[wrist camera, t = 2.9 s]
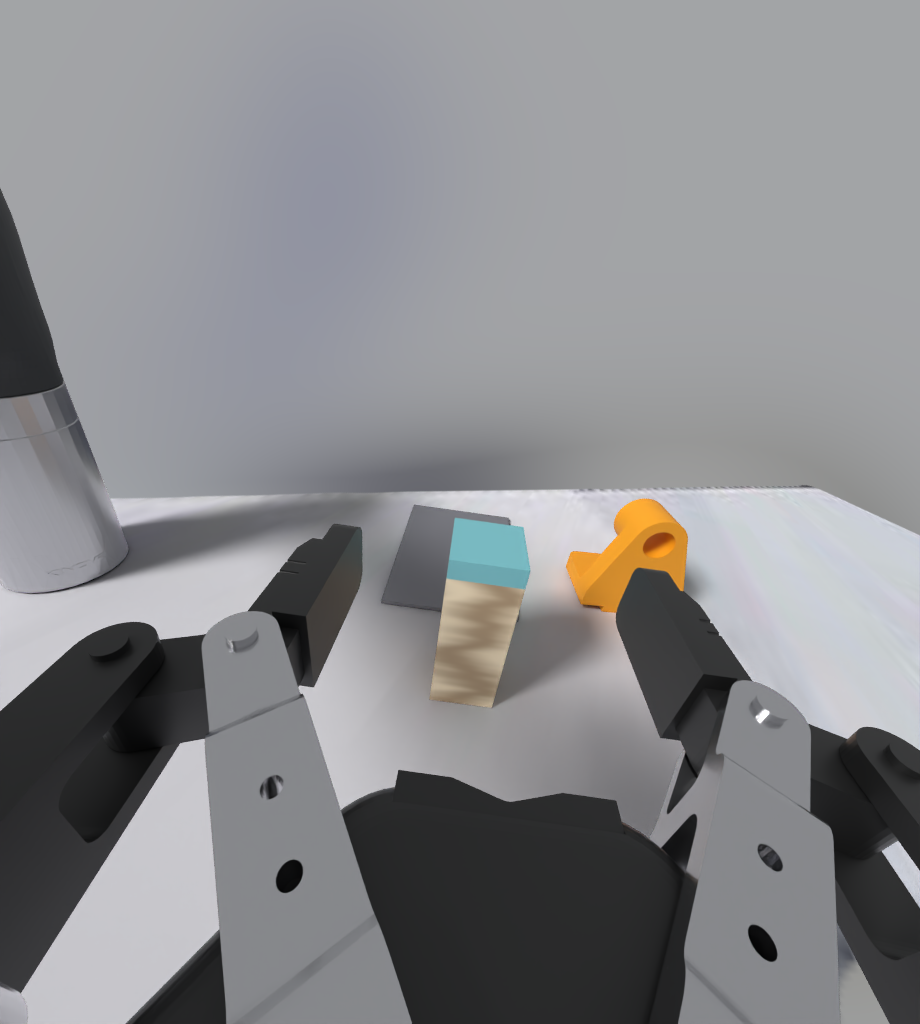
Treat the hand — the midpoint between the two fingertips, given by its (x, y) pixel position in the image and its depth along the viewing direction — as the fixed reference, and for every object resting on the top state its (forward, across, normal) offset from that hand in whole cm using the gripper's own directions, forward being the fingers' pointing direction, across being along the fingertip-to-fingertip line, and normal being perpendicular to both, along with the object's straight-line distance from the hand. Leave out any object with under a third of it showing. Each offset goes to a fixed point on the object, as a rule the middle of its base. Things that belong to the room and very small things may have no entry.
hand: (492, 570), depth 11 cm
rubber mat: (+29, +1, +21) cm, 36 cm away
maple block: (+12, -1, +21) cm, 24 cm away
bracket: (+27, -18, +21) cm, 39 cm away
